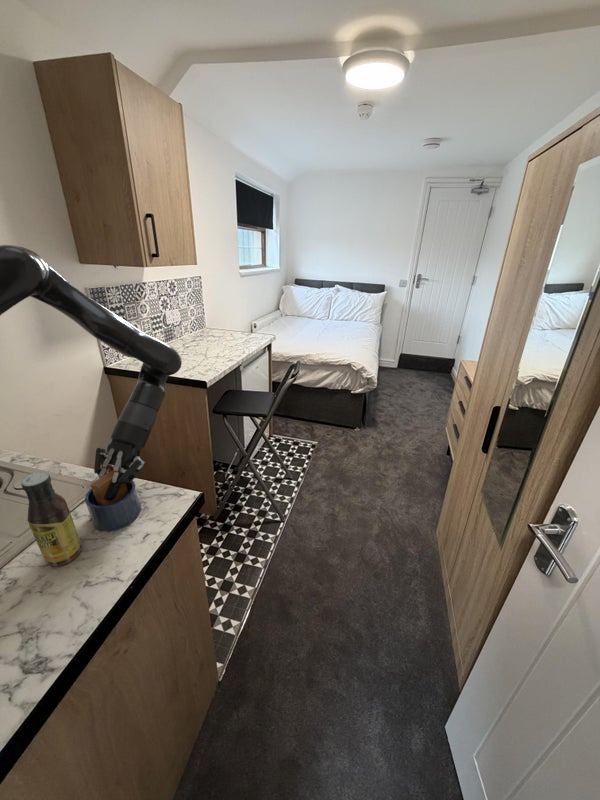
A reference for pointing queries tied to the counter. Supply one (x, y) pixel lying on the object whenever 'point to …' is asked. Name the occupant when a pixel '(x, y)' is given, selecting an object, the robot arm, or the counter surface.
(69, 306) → the robot arm
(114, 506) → the pot
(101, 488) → the wooden toy block
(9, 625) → the counter surface
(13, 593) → the counter surface
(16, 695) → the counter surface
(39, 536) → the sauce bottle
